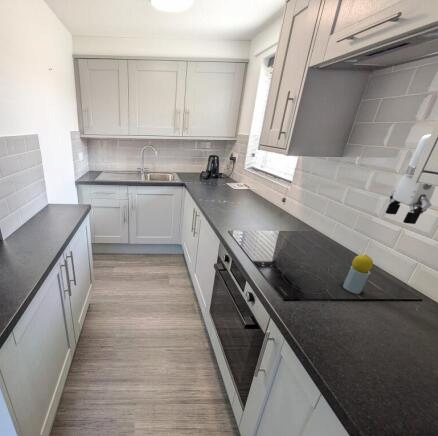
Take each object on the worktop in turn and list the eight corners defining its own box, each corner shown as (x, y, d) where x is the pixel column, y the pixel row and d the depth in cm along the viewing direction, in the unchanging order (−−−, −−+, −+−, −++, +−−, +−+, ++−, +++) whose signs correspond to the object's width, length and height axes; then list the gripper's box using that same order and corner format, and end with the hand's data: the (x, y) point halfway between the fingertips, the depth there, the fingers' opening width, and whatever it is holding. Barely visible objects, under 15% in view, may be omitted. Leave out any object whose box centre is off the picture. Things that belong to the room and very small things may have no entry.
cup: (356, 286, 93) (365, 267, 89) (364, 295, 88) (373, 275, 84) (340, 283, 94) (348, 264, 91) (346, 291, 89) (355, 272, 86)
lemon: (366, 279, 84) (375, 260, 81) (347, 271, 88) (355, 254, 85) (369, 273, 88) (377, 255, 85) (350, 266, 92) (358, 249, 89)
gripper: (459, 178, 70) (430, 229, 77) (416, 169, 86) (395, 211, 92) (428, 176, 72) (403, 225, 79) (391, 167, 88) (373, 209, 94)
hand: (399, 218), depth 86 cm, fingers open, 9 cm apart
